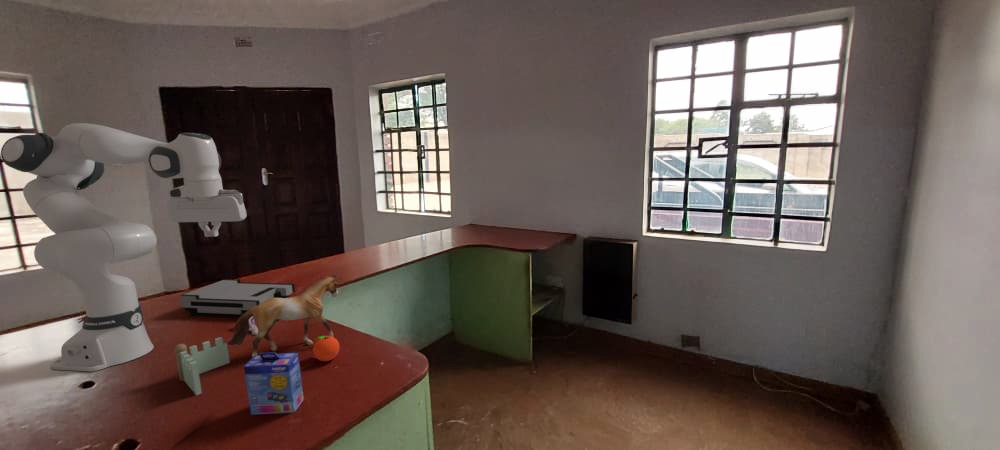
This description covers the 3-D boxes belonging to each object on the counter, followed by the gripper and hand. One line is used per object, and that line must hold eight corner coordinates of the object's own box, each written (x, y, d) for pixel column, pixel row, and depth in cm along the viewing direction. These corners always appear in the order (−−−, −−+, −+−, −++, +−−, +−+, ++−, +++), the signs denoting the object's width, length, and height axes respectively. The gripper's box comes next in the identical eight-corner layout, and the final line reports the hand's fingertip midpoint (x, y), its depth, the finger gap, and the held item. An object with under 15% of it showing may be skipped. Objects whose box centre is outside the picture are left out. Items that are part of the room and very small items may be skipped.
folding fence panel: (184, 380, 102) (179, 352, 100) (189, 379, 103) (185, 350, 101) (196, 395, 95) (191, 364, 94) (201, 393, 96) (196, 362, 95)
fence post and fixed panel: (181, 382, 101) (175, 347, 100) (177, 379, 103) (171, 345, 101) (230, 364, 110) (226, 331, 109) (227, 361, 112) (222, 329, 110)
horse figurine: (343, 332, 131) (337, 272, 127) (348, 341, 124) (342, 278, 121) (230, 360, 114) (220, 292, 110) (229, 372, 107) (219, 300, 104)
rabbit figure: (271, 337, 132) (254, 319, 141) (270, 321, 130) (253, 304, 139) (250, 344, 127) (233, 325, 136) (249, 327, 125) (232, 310, 134)
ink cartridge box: (248, 416, 88) (240, 356, 86) (261, 401, 94) (253, 344, 91) (294, 413, 89) (287, 353, 87) (304, 398, 94) (298, 342, 92)
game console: (258, 320, 144) (255, 298, 142) (182, 316, 149) (179, 295, 147) (296, 300, 164) (293, 281, 162) (228, 297, 169) (225, 279, 168)
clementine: (305, 363, 111) (303, 339, 110) (324, 351, 118) (322, 329, 116) (328, 367, 109) (325, 343, 107) (345, 355, 115) (343, 332, 114)
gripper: (247, 188, 118) (253, 233, 121) (176, 189, 117) (184, 234, 120) (234, 190, 112) (241, 238, 115) (160, 191, 111) (168, 239, 114)
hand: (211, 236), depth 118 cm, fingers closed
